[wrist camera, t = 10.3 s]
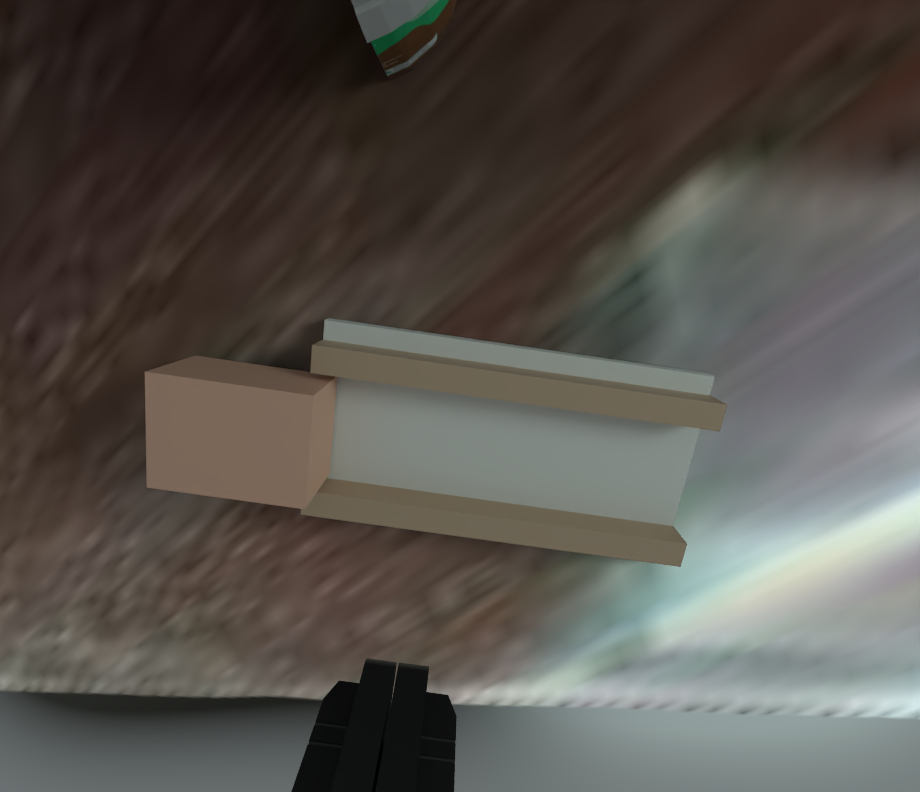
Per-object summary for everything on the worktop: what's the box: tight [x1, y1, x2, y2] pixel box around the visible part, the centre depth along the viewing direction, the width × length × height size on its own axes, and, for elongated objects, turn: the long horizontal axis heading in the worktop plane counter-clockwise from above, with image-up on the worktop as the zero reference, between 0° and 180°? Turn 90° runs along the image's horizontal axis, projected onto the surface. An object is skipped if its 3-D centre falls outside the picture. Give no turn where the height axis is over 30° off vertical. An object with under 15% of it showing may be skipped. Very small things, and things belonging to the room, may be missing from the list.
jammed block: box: [145, 356, 337, 509], centre depth 26 cm, size 8×6×4 cm
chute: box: [301, 318, 727, 567], centre depth 28 cm, size 22×12×3 cm, turn 82°
